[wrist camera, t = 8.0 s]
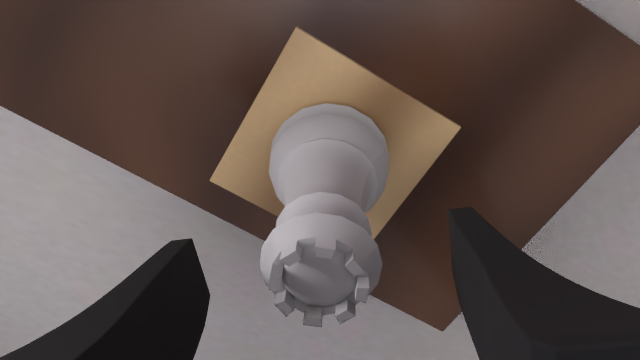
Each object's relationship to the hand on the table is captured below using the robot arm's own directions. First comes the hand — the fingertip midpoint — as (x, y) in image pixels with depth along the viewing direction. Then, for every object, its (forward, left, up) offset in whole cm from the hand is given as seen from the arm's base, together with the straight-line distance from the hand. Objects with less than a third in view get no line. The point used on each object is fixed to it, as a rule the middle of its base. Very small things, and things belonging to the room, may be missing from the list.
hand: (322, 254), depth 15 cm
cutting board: (+5, -2, -8) cm, 10 cm away
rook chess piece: (0, 0, -7) cm, 7 cm away
